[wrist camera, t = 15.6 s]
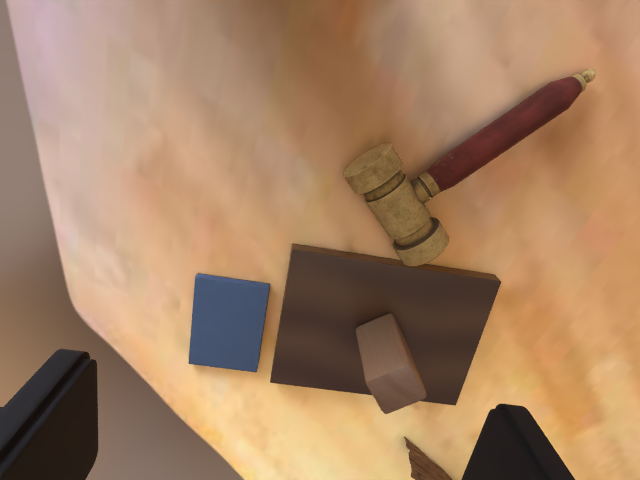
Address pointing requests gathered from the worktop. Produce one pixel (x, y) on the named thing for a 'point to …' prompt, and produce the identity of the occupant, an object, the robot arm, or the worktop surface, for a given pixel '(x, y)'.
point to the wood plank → (423, 465)
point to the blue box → (227, 322)
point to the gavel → (448, 170)
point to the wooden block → (389, 364)
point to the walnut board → (371, 303)
